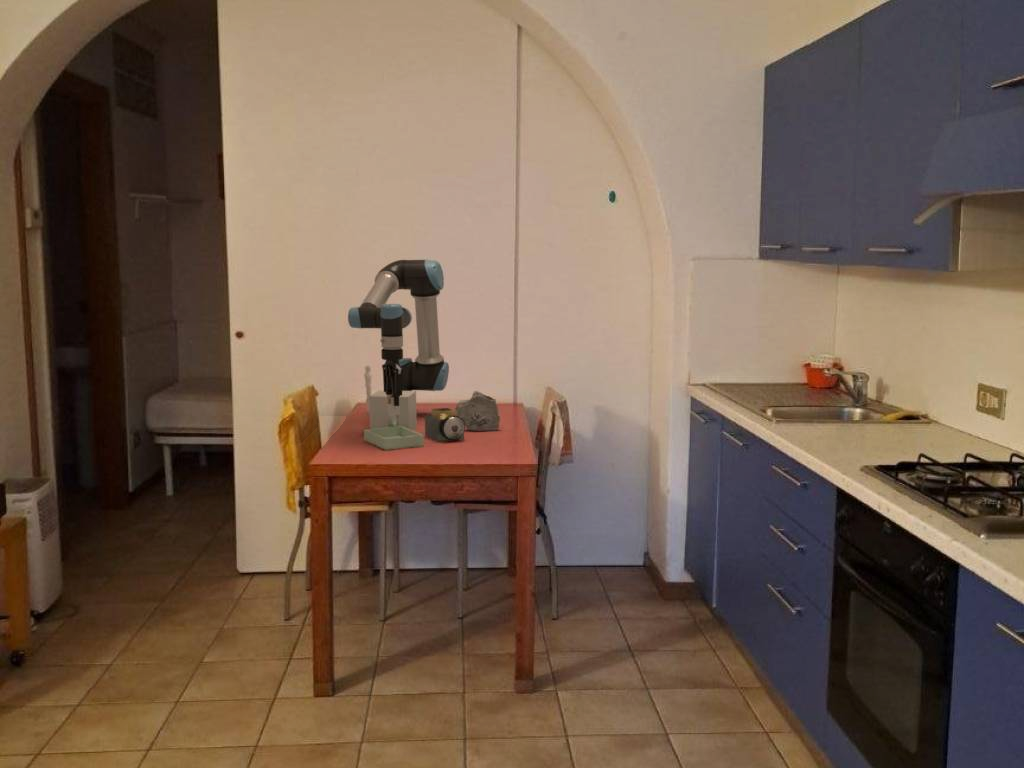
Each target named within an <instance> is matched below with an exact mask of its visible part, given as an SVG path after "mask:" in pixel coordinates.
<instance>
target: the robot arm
mask: <svg viewBox="0 0 1024 768" xmlns="http://www.w3.org/2000/svg"><path fill="white" fill-rule="evenodd" d="M444 278H445V277H444V271H443V268H442V266H441V264H440V262H439V261H438V260H433V259H432V260H431V259H399V260H395V261H392V262H391V263H388V264H387V265H385V266H384V267H383V268H381V269H380V270H379V271H378V272H377V274H376V275H375V277H374V284H373V285H372V287H371V289H370V290H369V292H368V293H367V295H366V296H365V298H364V299H363V301H362V303H361V304H360V306H354V307H350V308H349V310H348V313H347V320H348V325H349V326H350V328H353V329H354V328H355V329H380V333H381V334H380V335H381V336H380V338H381V339H380V343H381V348H382V349H381V350H380V353H381V354H380V355H381V359H382V360H384V361H385V362H384V363H383V364H382V365H381V368H382V377H383V378H382V379H383V382H382V383H383V384H382V385H383V391H384V392H386V395H387V413H388V398H391V406H392V415H400V409H399V397H400V395H402V391H429V392H437V391H438V392H440V391H441V392H442V391H444V390H445V388H446V387H447V383H448V379H449V374H450V373H449V372H450V371H449V370H450V365H449V362H447V361H445V357H444V356H443V355H442V354H441V353H440V352H441V350H440V338H439V337H440V335H439V320H438V319H439V318H438V301H437V297H438V296H439V295H440V294H441V291H442V290H443V288H444V285H445V282H444V280H445V279H444ZM398 290H399V291H400V290H406V291H410V296H411V297H412V298H413V299H414V307H415V308H414V309H415V322H416V334H417V335H416V338H417V351H418V355H417V356H416V358H415V360H414V361H413V359H412V358H411V357H404V349H403V346H404V335H403V333H404V332H403V329H405V328H407V327H408V326H409V325H410V324H411V323H412V319H413V317H412V312H411V311H410V310H409V309H408V308H406V307H404V306H402V304H399V303H387V302H388V301H389V298H390V297H391V296H392V294H394V293H395V292H397V291H398ZM417 411H418V410H417V408H416V416H417V414H418V412H417Z"/></svg>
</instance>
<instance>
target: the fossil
mask: <svg viewBox="0 0 1024 768" xmlns="http://www.w3.org/2000/svg"><path fill="white" fill-rule="evenodd" d="M496 401H497V399H495V398H493V397H492V396H490V395H486V394H484V393H482V392H481V391H478V390H475V391H473V392H472V396H471V397H470V398H469V399H463V400H460V401H459V402H458V403H457V404H456V405H455V407H454V409H455V410H457V416H460V417H463V418H464V423H465V429H467V430H468V431H476V432H481V431H498V430H499V428H500V421H501V420H500V419H501V418H500V416H501V415H499V409H498V405H497V403H496Z"/></svg>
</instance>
